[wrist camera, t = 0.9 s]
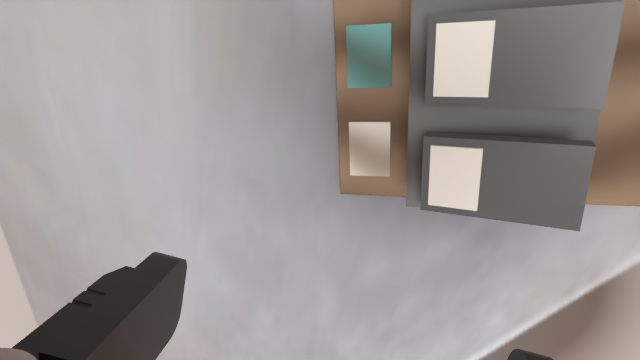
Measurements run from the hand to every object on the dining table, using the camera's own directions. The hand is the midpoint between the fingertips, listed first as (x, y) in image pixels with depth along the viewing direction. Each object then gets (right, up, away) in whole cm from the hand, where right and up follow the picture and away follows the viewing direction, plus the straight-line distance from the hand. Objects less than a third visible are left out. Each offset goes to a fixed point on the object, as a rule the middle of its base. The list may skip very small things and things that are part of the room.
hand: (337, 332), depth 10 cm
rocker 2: (+11, +4, +16) cm, 20 cm away
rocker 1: (+11, +11, +13) cm, 20 cm away
